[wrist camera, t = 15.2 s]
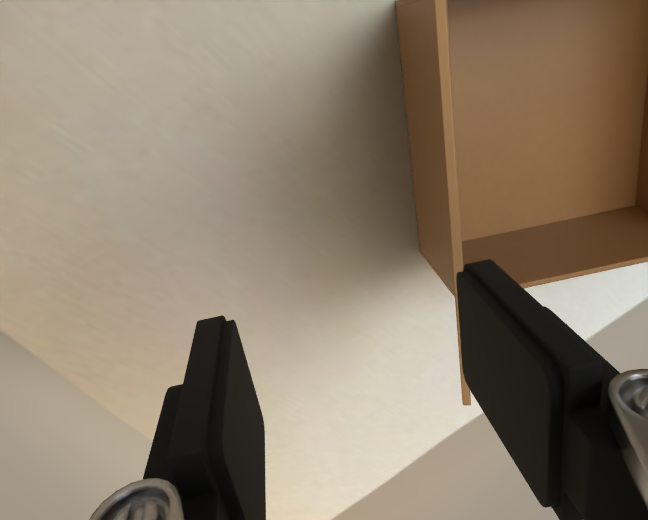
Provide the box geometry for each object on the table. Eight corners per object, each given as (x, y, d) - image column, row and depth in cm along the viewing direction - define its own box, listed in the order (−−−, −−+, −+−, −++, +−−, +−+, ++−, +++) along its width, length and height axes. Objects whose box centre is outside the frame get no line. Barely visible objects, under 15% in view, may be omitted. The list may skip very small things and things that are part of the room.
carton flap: (465, 307, 25) (459, 307, 25) (446, -15, 19) (438, -13, 19) (470, 405, 19) (462, 405, 19) (443, -26, 13) (432, -24, 13)
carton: (420, 252, 32) (458, 302, 26) (394, 1, 26) (437, -14, 20) (635, 207, 32) (724, 245, 26) (659, -49, 26) (782, -79, 20)
